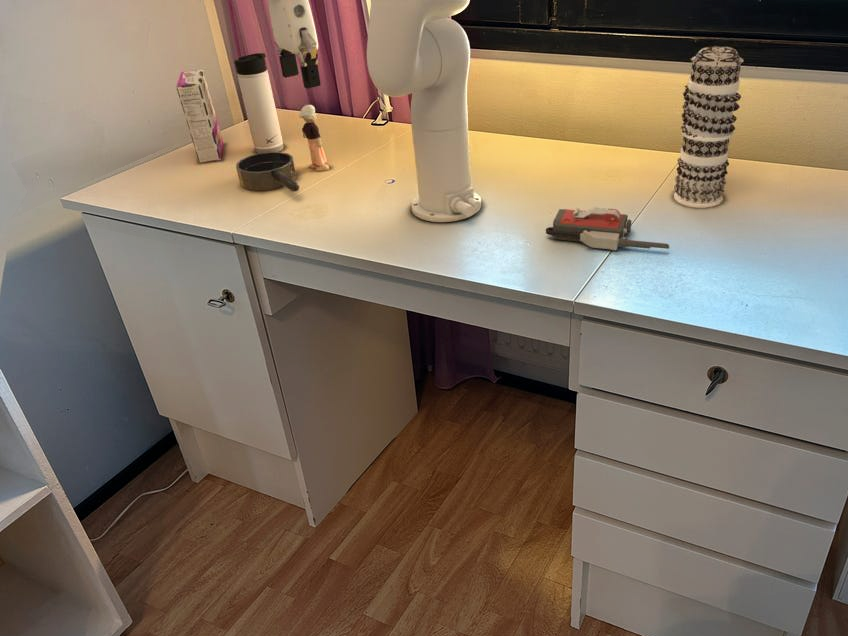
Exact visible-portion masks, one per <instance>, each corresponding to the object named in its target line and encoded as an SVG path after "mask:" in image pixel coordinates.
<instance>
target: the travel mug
mask: <svg viewBox="0 0 848 636" xmlns="http://www.w3.org/2000/svg"><path fill="white" fill-rule="evenodd" d="M266 57H267V56H266V53H265V52H257V53H252V54H247V55H244V56H240V57H239V58H238V59H235V60H234V68H235V71H236V76H237V80H238V86H239V88H240V93H241V97H242V102H243V106H244V110H245V114H246V118H247V122H248V127H249V131H250V136H251V139H252V144H253V148H254V151H255V153H256V154H258V153H265V152H282V151H283V150H284V147H285V146H284V142H283V137H282V131H281V127H280V122H279V117H278V113H277V108H276V104H275V98H274V93H273V90H272V85H271V80H270V75H269V71H268V67H267V63H266Z"/></svg>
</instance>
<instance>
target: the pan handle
mask: <svg viewBox="0 0 848 636" xmlns="http://www.w3.org/2000/svg"><path fill="white" fill-rule="evenodd" d="M273 178H274V179H276V180H277V181H279V182H280V183H281V184H283V185H284V187H286V188H287V189H288V190H290V191H292V192H293V193H296V192H298V191H299V190H300V185H299V183H298V182H296V181H295V179H294V180H292V179H291V178H289V177H288V176H286V175H285V174H284V173H282V172H281V171H279V170H275V171H274V172H273Z"/></svg>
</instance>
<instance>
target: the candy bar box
mask: <svg viewBox="0 0 848 636" xmlns="http://www.w3.org/2000/svg"><path fill="white" fill-rule="evenodd" d="M175 88H176V91H177V94H178V97H179V98H178V99H179V101H180V104H181V107H182V108H181V109H182V111H183V114H184V117H185V121H186V124H187V127H188V131H189V134H190V136H191V140H192V144H193V147H194V150H195V154H196V157H197V160H198V163H199V164H205V163H206V164H207V163H212V162H218V161H222V155H223V148H224V139H223V137H222V133H221V130H220V125H219V122H218V119H217V116H216V115H217V114H216V112H215V108H214V104H213V101H212V97H211V93H210V90H209V85H208V83H207V79H206V76H205V72H204V69H195V70H186V71H181V72H180V74H179V77H178V80H177V83H176V86H175Z"/></svg>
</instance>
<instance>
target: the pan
mask: <svg viewBox="0 0 848 636" xmlns="http://www.w3.org/2000/svg"><path fill="white" fill-rule="evenodd" d="M235 165H236V166H235V169H236V172H237V176H238V179H239V180H238V181H239V184H240V185H241V187H243V188H245V189H247V190H249V191H254V192H269V191H274V190H278V189H282V188H285V186H284V185H283V184H281V183H280V182H279V181H277V180H276V179H274V178H273V172H274V171H275V170H279V171H281V172H282V173H284V174H285V175H286V176H288V177H289V178H291V179H292V180H294V181H295V179H296V178H297V170H296V166H295V161H294V156H293V155H291V154H290V153H288V152H283V151H279V152H265V153H255V154H250V155H248V156H246V157H244V158H241V159H240V160H239V161H238V162H236V164H235Z"/></svg>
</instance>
